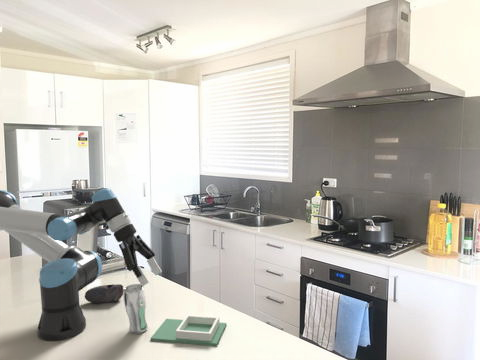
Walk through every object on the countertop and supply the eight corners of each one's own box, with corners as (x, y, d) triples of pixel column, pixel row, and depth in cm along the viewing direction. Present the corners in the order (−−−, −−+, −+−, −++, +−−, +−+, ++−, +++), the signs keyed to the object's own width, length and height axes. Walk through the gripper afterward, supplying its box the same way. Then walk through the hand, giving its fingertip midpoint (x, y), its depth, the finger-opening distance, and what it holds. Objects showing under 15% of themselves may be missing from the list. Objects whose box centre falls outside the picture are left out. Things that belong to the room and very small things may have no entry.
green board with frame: (150, 340, 127) (150, 330, 127) (166, 320, 141) (166, 311, 141) (216, 346, 123) (216, 335, 123) (226, 325, 137) (226, 316, 137)
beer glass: (140, 321, 139) (135, 281, 136) (153, 327, 135) (148, 286, 132) (123, 330, 134) (118, 290, 131) (136, 337, 130) (130, 295, 127)
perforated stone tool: (82, 305, 155) (81, 288, 155) (87, 300, 161) (86, 283, 160) (121, 304, 156) (120, 287, 156) (124, 298, 161) (123, 282, 161)
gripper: (115, 228, 129) (148, 283, 128) (143, 218, 154) (171, 264, 153) (97, 239, 130) (130, 295, 129) (127, 228, 155) (155, 274, 154)
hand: (152, 278), depth 141 cm, fingers open, 13 cm apart
